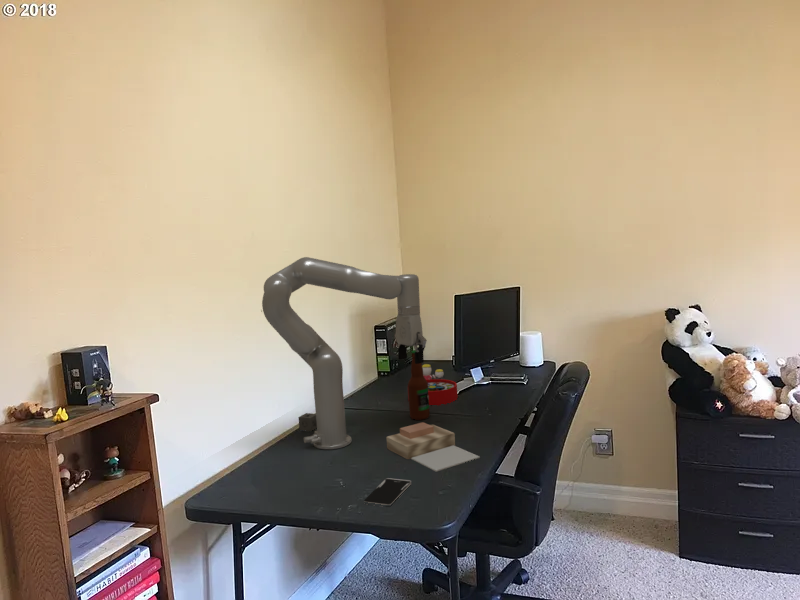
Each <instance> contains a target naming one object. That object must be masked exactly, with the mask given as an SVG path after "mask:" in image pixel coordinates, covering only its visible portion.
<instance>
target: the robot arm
mask: <svg viewBox="0 0 800 600" xmlns="http://www.w3.org/2000/svg"><path fill="white" fill-rule="evenodd" d="M305 285H311V286H316V287H320V288H326V289H332V290H336V291H342V292H346V293H350V294H351V293H353V294H360V295H365V296H370V297H374V298H379V299H380V298H381V299H385V300H393V299H396V303H397V316H396V321H395V333H394V336H393V337H394V339H395V343H396V347H397V351H398V352H397V356H398V360H399V361H400V360H406V359H407V358H408V353H407V352H408V351H407V347H406V346H408V347H413V348H414V350H415V351H416V352H415V364H419V363H423V364H424V362H425V361H424V351H425V348H426V344H427V339H426V338H425V336H424V335H423V334H424V333H423V324H422V318H421V303H420V280H419V276H418V275H417V274H415V273H412V274H411V273H410V274H409V273H408V274H407V273H406V274H399V275H393V274H392V275H390V274H381V273H376V272H372V271H367V270H364V269H360V268H356V267H355V266H350V265H346V264H343V263H338V262H333V261H327V260H322V259H317V258H313V257H309V256H304V257H301V258H299V259H297V260H295V261H294V262H292V263H290V264H289V265H287V266H285V267H284V268H281V269H280V270H279V271H276V272H275V273H273V274H272V275H270V276H269V277H268V278H267V279H266V280H265V282H264V284H263V296H262V299H261V300H262V301H261V302H262V303H261V305H262V312H263V315H264V317H265V319H266V320H267V322H268V323H269V324H270V327H272V328H273V329H274V330H275V331H276V332H277V333H278V335H280V337H281V338H282V339H283V340H284V341H285V342H286V343H287V344H288V346H289V347H290V348H291V350H292V351H293V352H294V353H296V354H297V355H298V356H299V357H300V358H301V359H302V360H303V361H304V362H305V363H306V364H307V365H308V366H309V367H310V369H311V370H312V378H313V379H312V381H313V384H312V385H313V397H314V407H315V414H316V422H317V429H316V430H313V431H314V432H313V434H311V435H310V436H309V435H308V436H304V437H303V442H304V444H308V443H310V444H313V447H314V448H317V449H319V450H336V449H341V448H344V447H347V446H349V445H350V444H351V443H352V442H353V441H352V437H351V436H350V435H349V434H347V424H346V412H345V411H346V410H345V400H344V387H343V363H342V359H341V357H340V356H339V354H338V353H337V352H336V351H335V350H334V349H333V348H332V347H331V346H330V345H329V344H328V343H327V342H326V341H325V340H324V339H323V338H322V337H321V336H320V335H319V333H317V332H316V331H315V329H314V328H313V327H312V325H310V324H308V323H306V322H305V321H304V320H303V319H302V318H301V317H300V315H298V312H296V311H295V310H294V309H293V308H292V306H291V304H290V303H291V302H290V299H291V296H292V294H293V293H294V292H296V291H297V290H299V289H301V288H302V287H304V286H305Z"/></svg>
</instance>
